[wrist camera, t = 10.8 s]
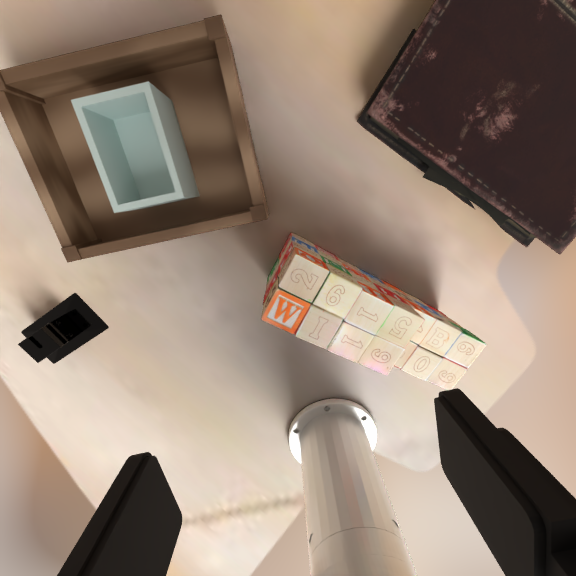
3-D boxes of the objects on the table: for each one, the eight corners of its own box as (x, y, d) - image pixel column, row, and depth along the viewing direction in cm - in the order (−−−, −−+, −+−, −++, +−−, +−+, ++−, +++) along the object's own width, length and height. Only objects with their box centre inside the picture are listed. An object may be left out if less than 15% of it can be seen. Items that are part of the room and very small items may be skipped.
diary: (468, -66, 27) (510, -122, 22) (643, 102, 31) (709, 86, 27) (349, 130, 31) (363, 119, 26) (518, 252, 36) (555, 261, 31)
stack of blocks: (439, 308, 38) (512, 362, 26) (411, 348, 39) (467, 415, 28) (289, 230, 34) (295, 252, 22) (265, 277, 36) (259, 320, 24)
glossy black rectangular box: (82, 279, 36) (55, 292, 31) (125, 325, 38) (104, 343, 33) (10, 331, 37) (-26, 350, 33) (54, 372, 39) (26, 395, 35)
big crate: (269, 214, 33) (267, 219, 28) (98, 251, 34) (67, 262, 29) (231, 45, 28) (221, 14, 23) (31, 93, 29) (-19, 73, 24)
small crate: (199, 196, 32) (184, 197, 26) (141, 209, 32) (114, 213, 27) (172, 101, 29) (148, 81, 24) (108, 116, 29) (70, 100, 24)
